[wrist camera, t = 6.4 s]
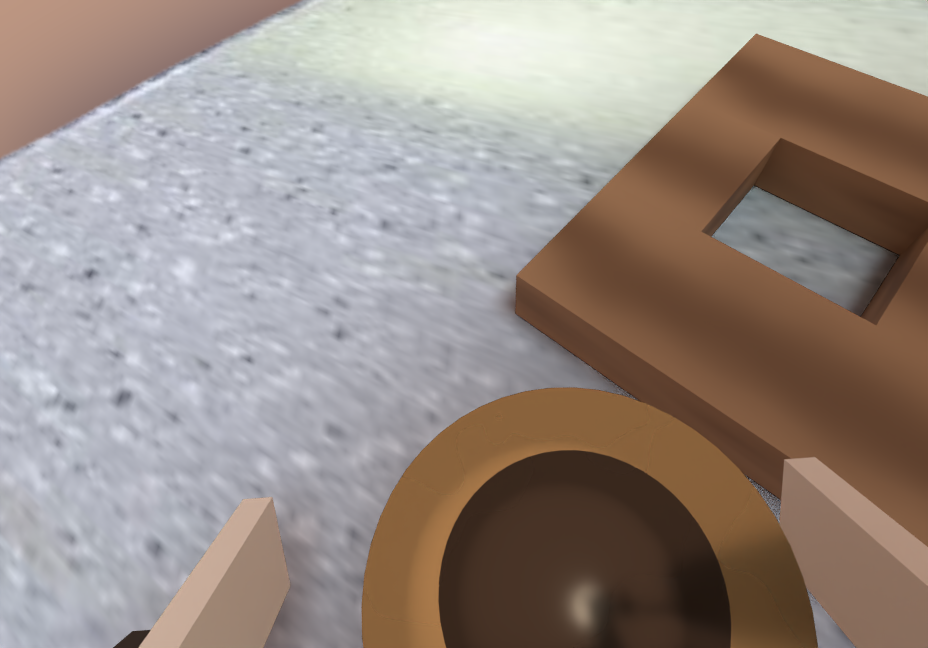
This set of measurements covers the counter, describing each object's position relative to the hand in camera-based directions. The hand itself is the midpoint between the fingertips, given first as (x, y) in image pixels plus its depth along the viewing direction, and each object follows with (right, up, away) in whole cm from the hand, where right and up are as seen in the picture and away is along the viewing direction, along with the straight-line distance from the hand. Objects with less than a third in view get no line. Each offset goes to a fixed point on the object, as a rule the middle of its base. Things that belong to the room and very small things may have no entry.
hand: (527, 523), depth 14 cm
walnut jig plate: (+13, +8, +11) cm, 19 cm away
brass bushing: (+1, -5, +4) cm, 7 cm away
